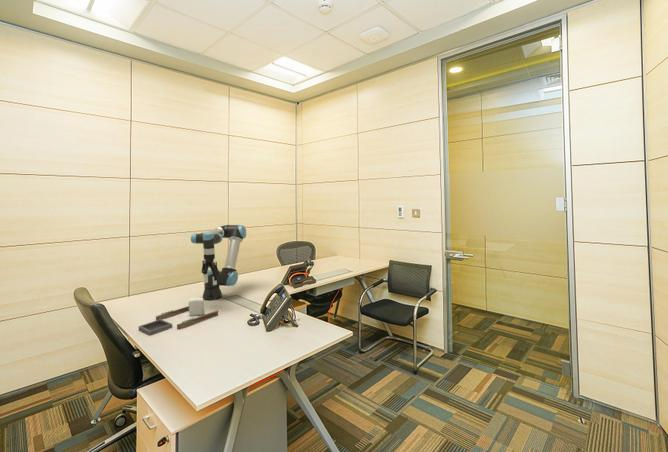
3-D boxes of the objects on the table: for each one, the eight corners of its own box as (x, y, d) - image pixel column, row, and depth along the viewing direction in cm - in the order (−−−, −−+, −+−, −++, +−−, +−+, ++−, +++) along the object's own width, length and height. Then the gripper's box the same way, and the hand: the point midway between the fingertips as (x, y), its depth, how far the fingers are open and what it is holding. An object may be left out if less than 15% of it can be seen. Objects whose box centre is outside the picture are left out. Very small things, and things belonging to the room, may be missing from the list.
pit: (138, 330, 204) (138, 326, 204) (160, 322, 216) (160, 319, 215) (150, 335, 196) (149, 331, 196) (172, 327, 208) (172, 323, 208)
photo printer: (188, 316, 227) (187, 299, 226) (190, 314, 231) (189, 297, 230) (203, 315, 229) (203, 298, 228) (205, 313, 233) (204, 296, 232)
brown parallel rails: (155, 320, 220) (155, 315, 219) (195, 307, 244) (195, 303, 244) (178, 329, 204) (178, 324, 204) (218, 315, 229) (218, 310, 228)
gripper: (195, 253, 239) (196, 282, 241) (214, 256, 227) (215, 287, 229) (204, 251, 245) (205, 280, 247) (223, 254, 233) (224, 284, 235)
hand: (210, 283), depth 238 cm, fingers open, 10 cm apart
